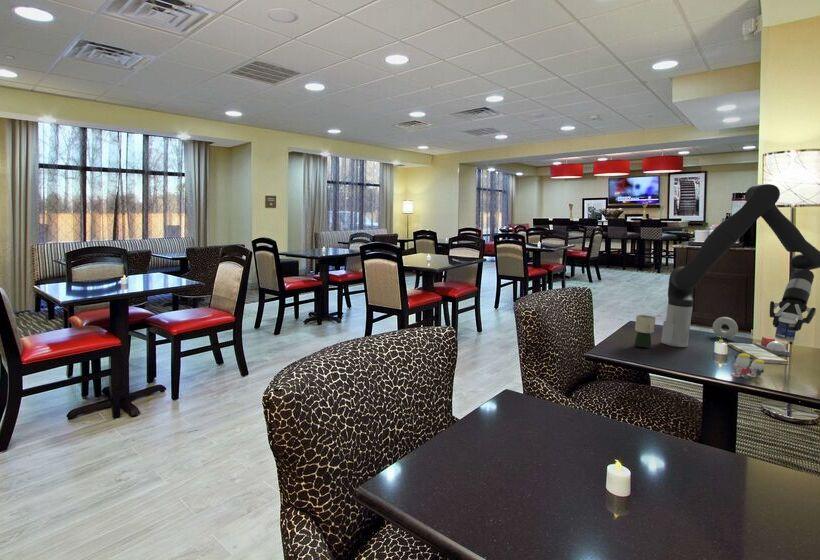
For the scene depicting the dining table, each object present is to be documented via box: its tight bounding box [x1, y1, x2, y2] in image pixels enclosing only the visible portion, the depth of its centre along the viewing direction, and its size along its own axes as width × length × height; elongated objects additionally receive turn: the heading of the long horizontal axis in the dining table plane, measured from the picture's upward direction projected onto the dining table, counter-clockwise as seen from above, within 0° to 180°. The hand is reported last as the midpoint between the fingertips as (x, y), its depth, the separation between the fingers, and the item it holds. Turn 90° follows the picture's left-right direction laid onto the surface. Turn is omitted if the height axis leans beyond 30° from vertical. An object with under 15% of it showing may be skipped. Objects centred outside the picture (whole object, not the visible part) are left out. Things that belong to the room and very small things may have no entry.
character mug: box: [634, 314, 656, 349], centre depth 198 cm, size 11×7×13 cm, turn 1°
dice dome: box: [753, 336, 791, 357], centre depth 201 cm, size 12×7×6 cm, turn 174°
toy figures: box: [730, 353, 766, 378], centre depth 167 cm, size 12×4×8 cm, turn 97°
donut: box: [712, 316, 739, 340], centre depth 218 cm, size 10×4×10 cm, turn 39°
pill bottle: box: [774, 312, 798, 342], centre depth 178 cm, size 6×6×10 cm
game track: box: [727, 342, 789, 365], centre depth 196 cm, size 23×10×1 cm, turn 174°
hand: (785, 327), depth 177 cm, fingers closed on pill bottle, 5 cm apart
